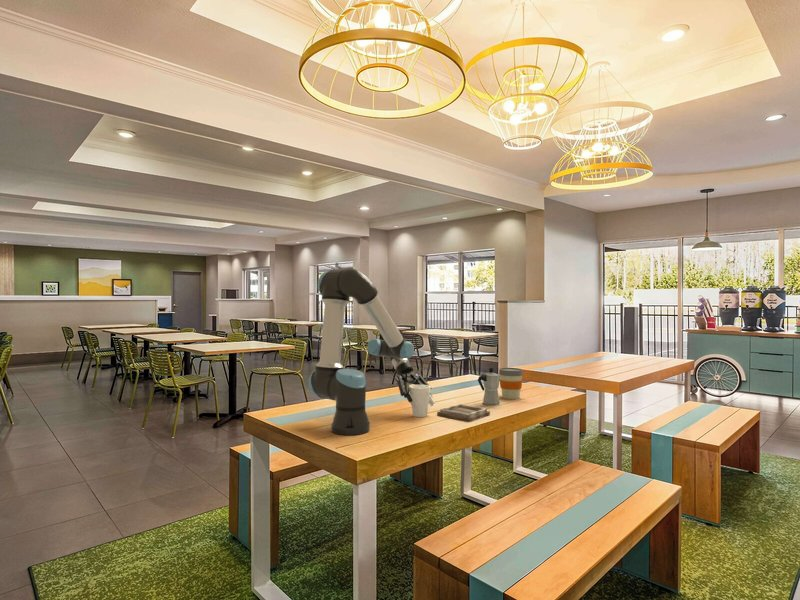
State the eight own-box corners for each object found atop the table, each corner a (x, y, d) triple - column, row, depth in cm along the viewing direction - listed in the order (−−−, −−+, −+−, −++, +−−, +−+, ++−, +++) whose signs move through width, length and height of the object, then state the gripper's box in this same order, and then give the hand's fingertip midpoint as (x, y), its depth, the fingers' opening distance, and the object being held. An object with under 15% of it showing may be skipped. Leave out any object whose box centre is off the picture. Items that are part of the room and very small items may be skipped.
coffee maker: (494, 400, 237) (494, 365, 238) (506, 403, 230) (506, 367, 230) (472, 403, 230) (472, 367, 230) (484, 407, 222) (484, 370, 222)
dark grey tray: (469, 421, 194) (469, 415, 194) (437, 415, 205) (437, 409, 205) (489, 414, 206) (490, 408, 206) (458, 409, 218) (458, 403, 218)
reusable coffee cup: (494, 396, 246) (494, 369, 247) (507, 393, 255) (507, 367, 255) (514, 400, 237) (514, 371, 237) (527, 397, 246) (527, 369, 246)
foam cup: (405, 416, 203) (405, 387, 203) (414, 412, 211) (414, 384, 211) (425, 419, 198) (425, 389, 198) (433, 414, 206) (433, 385, 207)
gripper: (416, 369, 224) (438, 407, 211) (380, 373, 210) (401, 414, 197) (423, 359, 219) (446, 397, 207) (387, 362, 206) (409, 404, 193)
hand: (424, 405), depth 202 cm, fingers closed on foam cup, 9 cm apart
